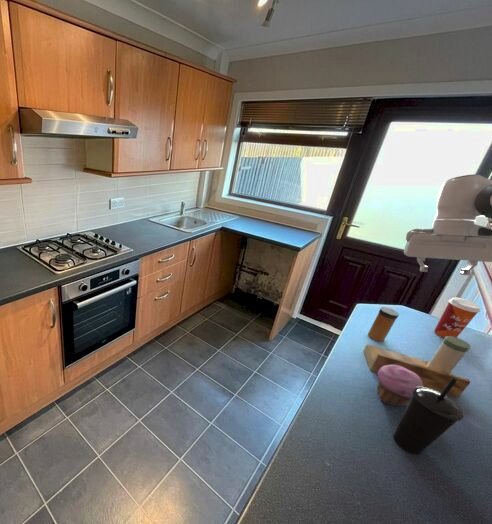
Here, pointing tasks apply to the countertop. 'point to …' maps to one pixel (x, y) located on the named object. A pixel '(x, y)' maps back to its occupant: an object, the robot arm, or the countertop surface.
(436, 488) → the countertop surface
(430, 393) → the drinking cup
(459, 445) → the countertop surface
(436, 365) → the sage jar
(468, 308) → the paper cup
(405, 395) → the cupcake
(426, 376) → the spice rack
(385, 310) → the amber jar
